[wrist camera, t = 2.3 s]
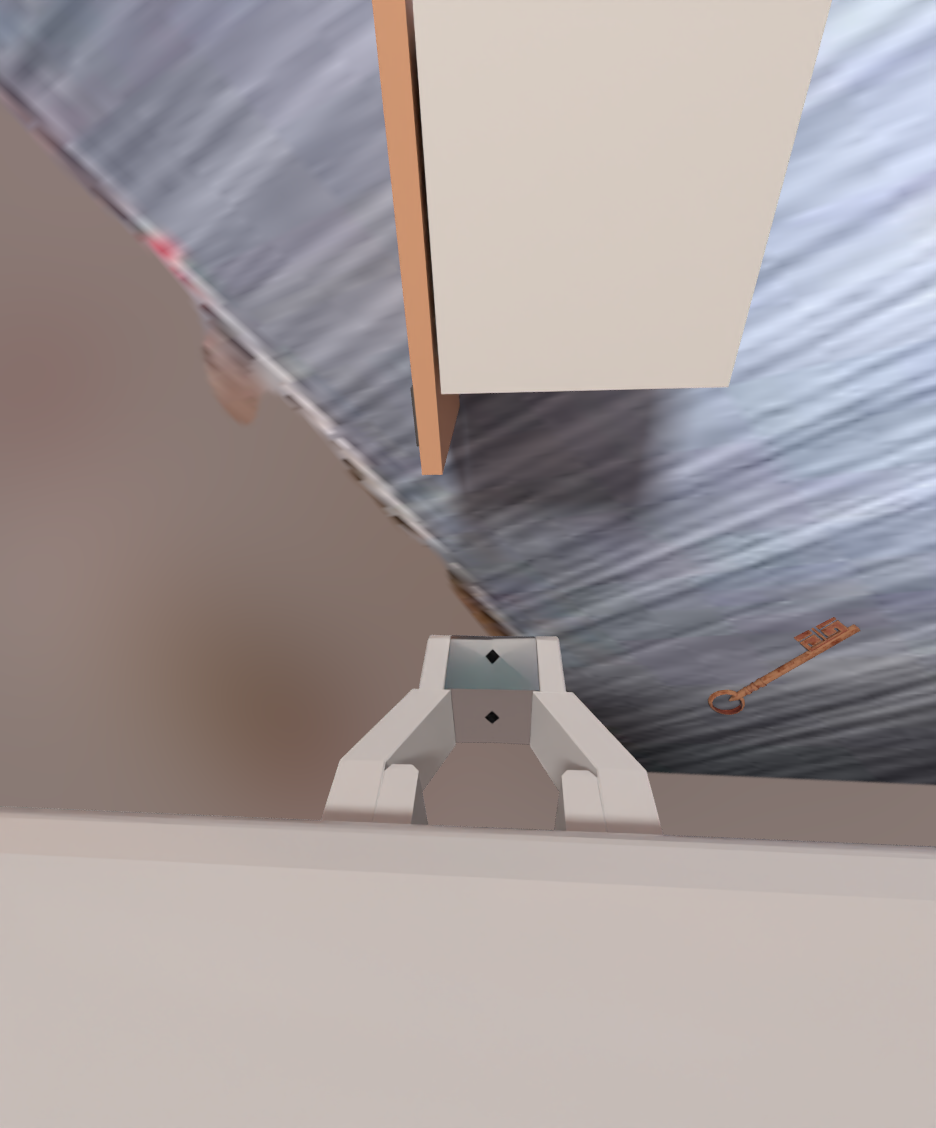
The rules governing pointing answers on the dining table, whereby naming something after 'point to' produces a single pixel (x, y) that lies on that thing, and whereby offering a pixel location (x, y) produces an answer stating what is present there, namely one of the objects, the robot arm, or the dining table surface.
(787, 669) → the key
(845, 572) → the dining table surface
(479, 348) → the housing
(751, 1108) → the robot arm
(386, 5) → the hatch
